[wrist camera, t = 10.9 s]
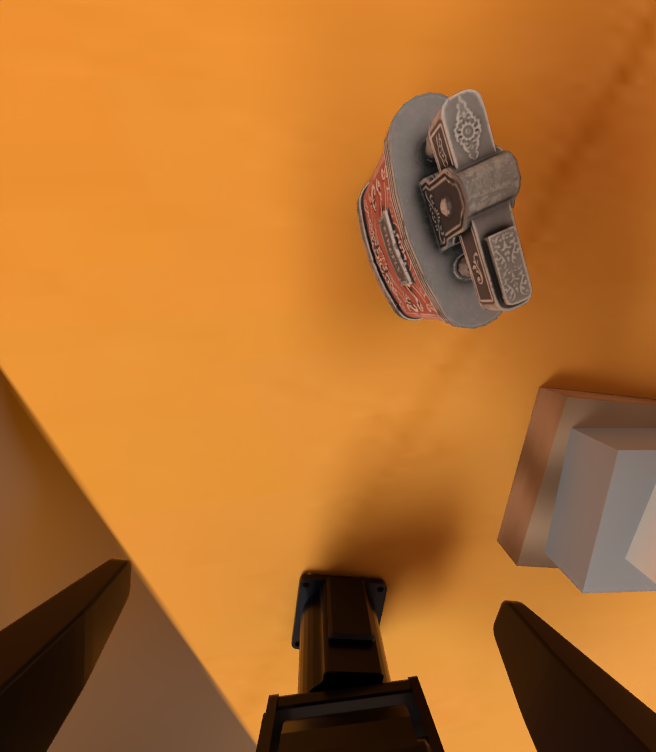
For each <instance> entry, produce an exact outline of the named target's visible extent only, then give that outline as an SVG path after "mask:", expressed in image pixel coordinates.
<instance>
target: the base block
mask: <svg viewBox="0 0 656 752" xmlns="http://www.w3.org/2000/svg"><path fill="white" fill-rule="evenodd" d="M571 428H656V399H648V398H638V397H629V396H619V395H610V394H601V393H591V392H582V391H573V390H563V389H554V388H544V387H539V390H538V394H537V397H536V401H535V405H534V408H533V412H532V415H531V419H530V423H529V426H528V430H527V434H526V437H525V441H524V445H523V448H522V452H521V455H520V459H519V463H518V466H517V470H516V474H515V477H514V481H513V485H512V488H511V492H510V495H509V499H508V503H507V506H506V510H505V514H504V517H503V521H502V525H501V528H500V532H499V535H498V539H497V541H498V542H499V544H500V545H501V546H502V548H503V549H504V550H505V551H506V553H507V554H508V555H509V556H510V558H511V559H512V560H513V561H514V563H515V564H516V565H517V566H531V567H548V568H558V567H557V566H556V564H555V563H554V562H553V561H552V560H551V559H550V558H549V557H548V556H547V555H546V554H545V549H546V544H547V539H548V535H549V530H550V525H551V521H552V516H553V511H554V506H555V502H556V497H557V492H558V487H559V483H560V478H561V473H562V468H563V464H564V459H565V454H566V449H567V445H568V440H569V435H570V430H571Z"/></svg>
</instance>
